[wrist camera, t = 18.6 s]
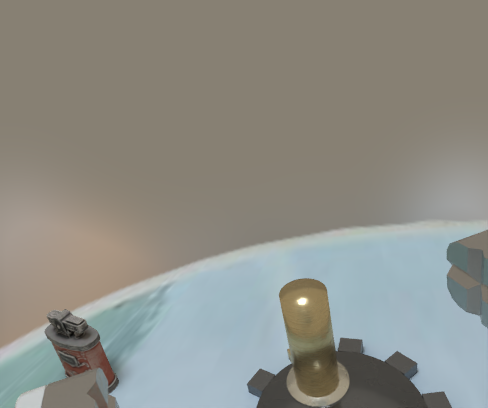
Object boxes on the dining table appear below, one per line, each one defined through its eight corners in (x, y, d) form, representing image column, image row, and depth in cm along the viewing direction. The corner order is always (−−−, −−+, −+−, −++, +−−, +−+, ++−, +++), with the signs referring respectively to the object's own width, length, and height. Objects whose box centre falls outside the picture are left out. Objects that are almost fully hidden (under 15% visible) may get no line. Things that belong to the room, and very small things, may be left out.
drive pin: (306, 403, 41) (289, 314, 37) (289, 372, 45) (272, 287, 41) (347, 387, 42) (335, 297, 38) (327, 357, 46) (314, 273, 41)
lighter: (60, 380, 53) (29, 317, 49) (82, 360, 55) (53, 299, 51) (103, 400, 48) (72, 332, 44) (125, 378, 51) (97, 312, 47)
